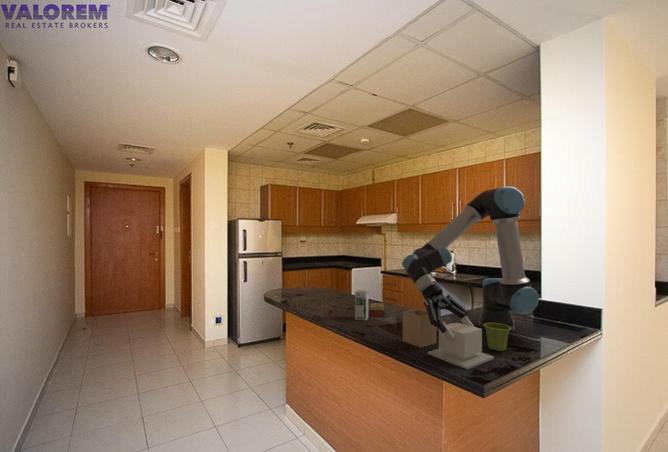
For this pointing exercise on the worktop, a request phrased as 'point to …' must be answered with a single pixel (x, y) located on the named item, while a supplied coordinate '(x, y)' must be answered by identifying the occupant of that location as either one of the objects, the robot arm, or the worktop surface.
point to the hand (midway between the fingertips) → (463, 336)
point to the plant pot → (497, 335)
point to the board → (465, 363)
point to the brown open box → (418, 328)
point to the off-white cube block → (462, 341)
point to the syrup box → (361, 305)
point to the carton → (376, 310)
